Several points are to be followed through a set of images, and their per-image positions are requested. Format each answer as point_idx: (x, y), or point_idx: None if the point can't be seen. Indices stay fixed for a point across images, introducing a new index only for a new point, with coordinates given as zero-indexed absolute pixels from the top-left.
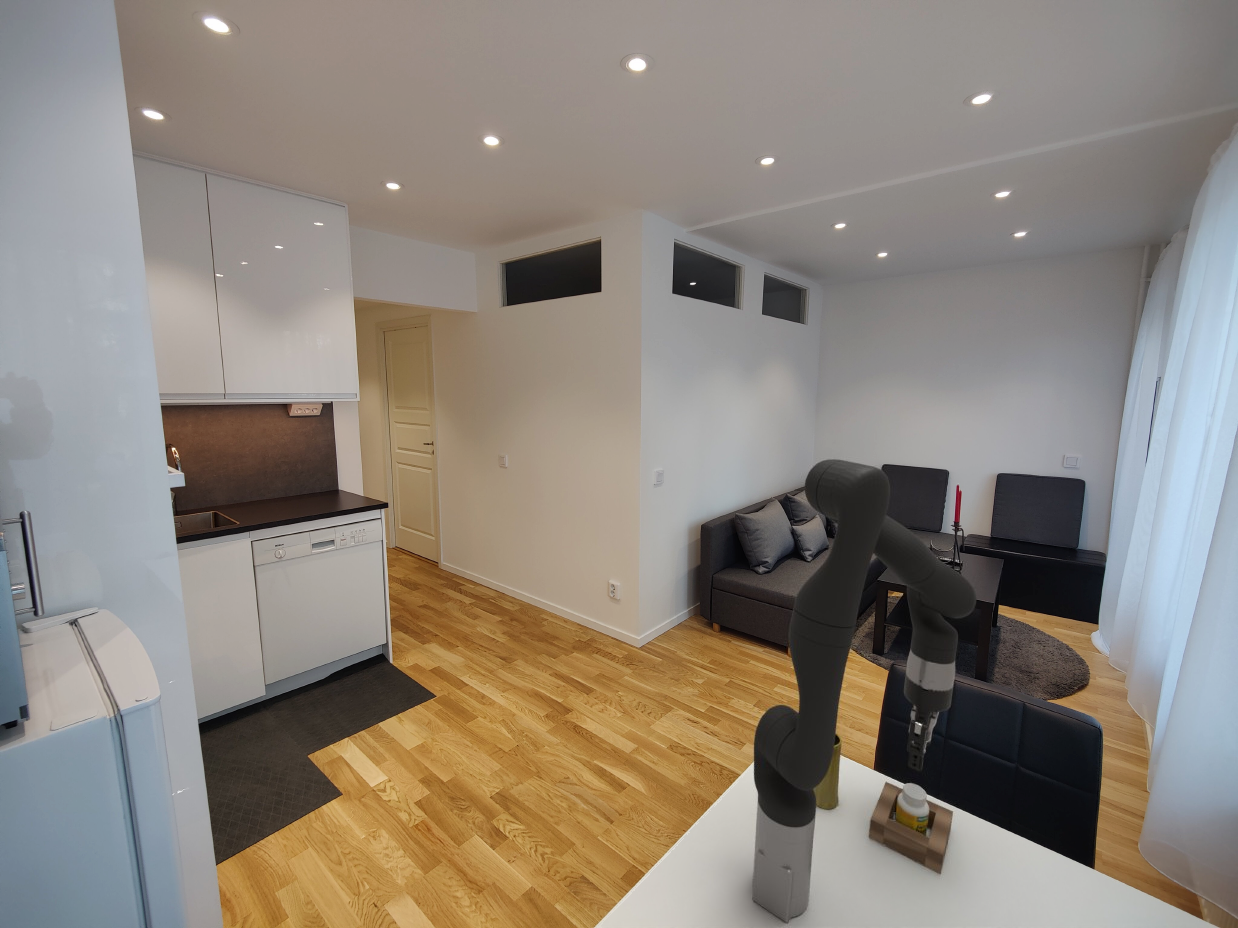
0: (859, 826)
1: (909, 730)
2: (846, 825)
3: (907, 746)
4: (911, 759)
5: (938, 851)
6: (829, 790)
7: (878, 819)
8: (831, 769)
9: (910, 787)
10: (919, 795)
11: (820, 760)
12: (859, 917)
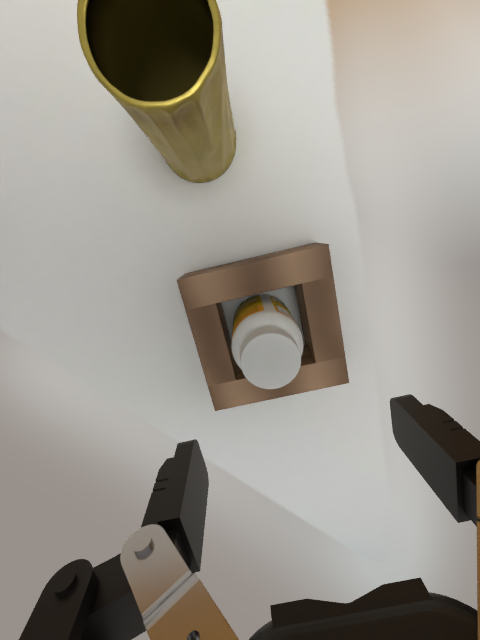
0: (194, 247)
1: (151, 637)
2: (172, 228)
3: (32, 613)
4: (153, 495)
5: (216, 402)
6: (170, 159)
7: (191, 292)
8: (152, 138)
9: (276, 348)
10: (264, 375)
11: None
12: (24, 343)
